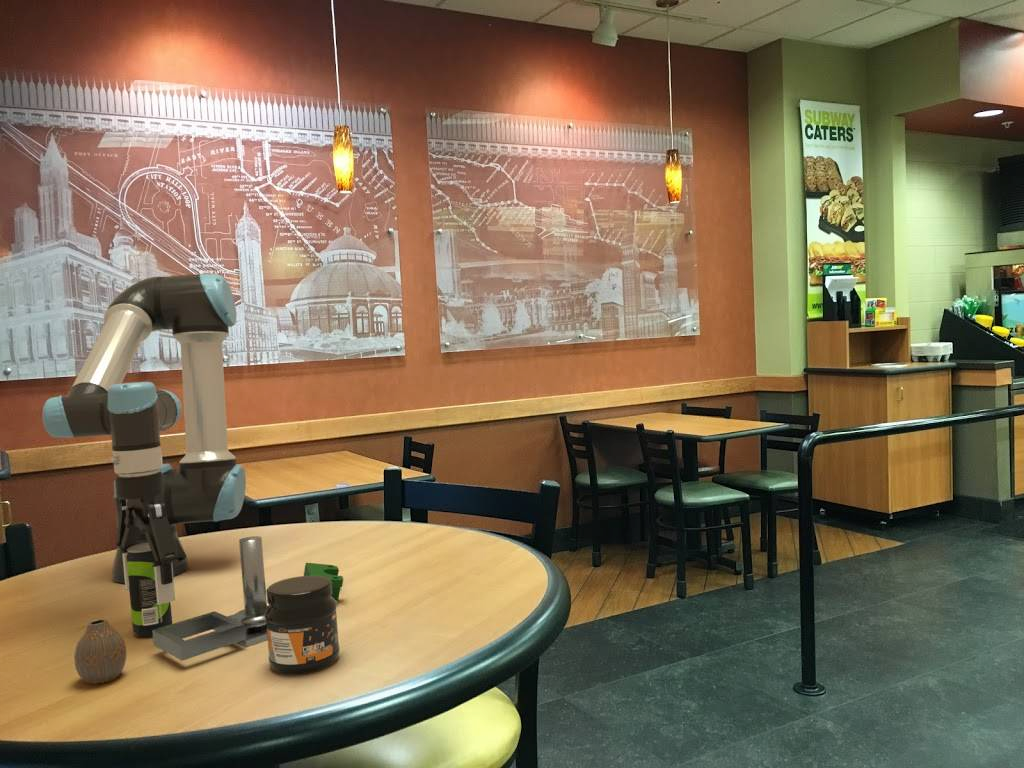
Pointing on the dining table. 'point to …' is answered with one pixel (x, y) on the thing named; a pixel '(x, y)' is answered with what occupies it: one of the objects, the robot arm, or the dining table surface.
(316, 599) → the supplement container
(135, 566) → the beverage can
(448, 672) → the dining table surface
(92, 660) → the vase
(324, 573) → the clamp
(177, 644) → the frame with upright rod
